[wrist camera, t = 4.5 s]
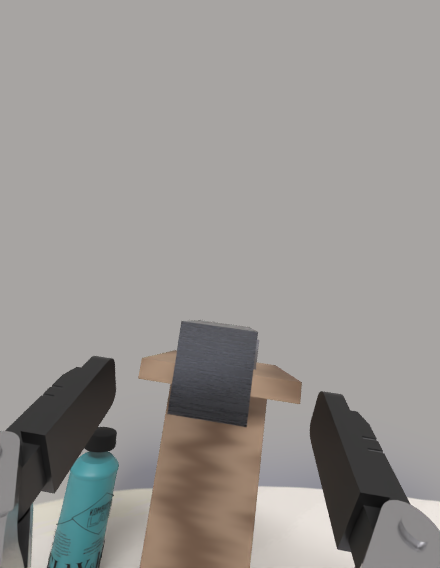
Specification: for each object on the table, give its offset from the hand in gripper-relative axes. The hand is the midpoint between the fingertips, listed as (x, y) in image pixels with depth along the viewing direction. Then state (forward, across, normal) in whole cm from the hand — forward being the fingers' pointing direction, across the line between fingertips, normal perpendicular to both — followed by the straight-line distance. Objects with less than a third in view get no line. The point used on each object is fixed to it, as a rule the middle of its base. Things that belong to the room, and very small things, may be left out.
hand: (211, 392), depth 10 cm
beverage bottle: (+9, +16, +44) cm, 48 cm away
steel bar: (+8, 0, +5) cm, 10 cm away
